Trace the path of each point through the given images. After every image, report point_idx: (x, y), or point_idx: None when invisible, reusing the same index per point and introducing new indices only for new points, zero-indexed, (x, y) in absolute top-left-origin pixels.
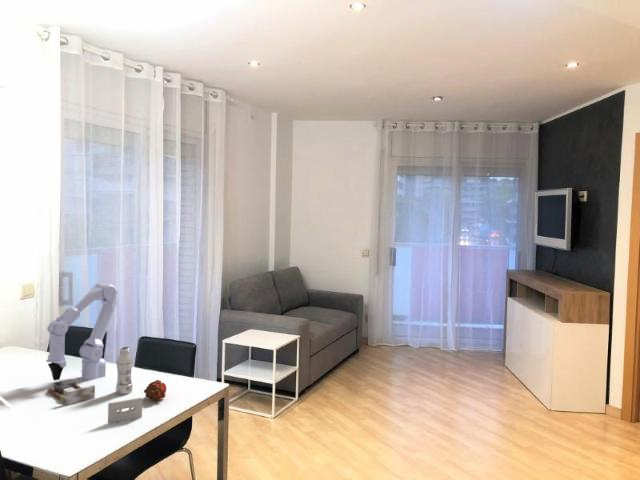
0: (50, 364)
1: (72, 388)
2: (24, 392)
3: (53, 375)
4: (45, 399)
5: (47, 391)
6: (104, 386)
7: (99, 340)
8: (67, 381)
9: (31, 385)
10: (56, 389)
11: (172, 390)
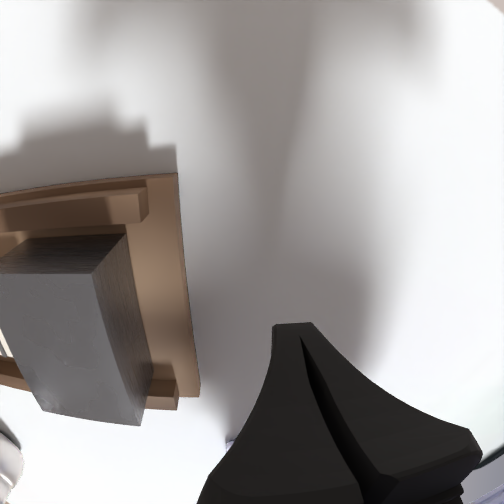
0: (410, 488)
1: (6, 347)
2: (363, 35)
3: (284, 359)
4: (42, 128)
5: (161, 183)
6: (122, 460)
7: None
8: (83, 386)
9: (479, 163)
10: (43, 250)
11: (19, 489)
